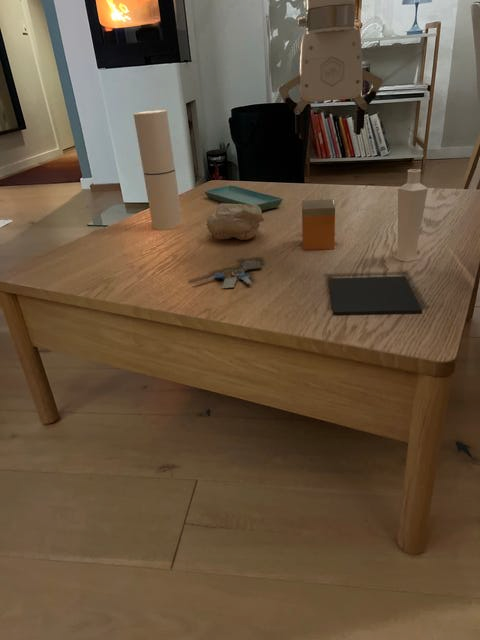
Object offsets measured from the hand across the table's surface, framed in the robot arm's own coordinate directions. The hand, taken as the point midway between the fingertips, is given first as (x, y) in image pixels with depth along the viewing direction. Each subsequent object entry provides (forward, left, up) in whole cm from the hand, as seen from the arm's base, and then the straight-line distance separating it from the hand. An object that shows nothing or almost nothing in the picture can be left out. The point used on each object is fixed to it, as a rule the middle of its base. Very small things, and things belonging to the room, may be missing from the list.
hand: (329, 135), depth 84 cm
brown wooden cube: (+2, 0, -16) cm, 16 cm away
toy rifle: (+16, +16, -20) cm, 30 cm away
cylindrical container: (+37, -18, -20) cm, 46 cm away
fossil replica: (+19, -6, -20) cm, 28 cm away
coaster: (-5, +24, -20) cm, 32 cm away
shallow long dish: (+21, -36, -20) cm, 46 cm away
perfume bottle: (-13, +9, -20) cm, 26 cm away
